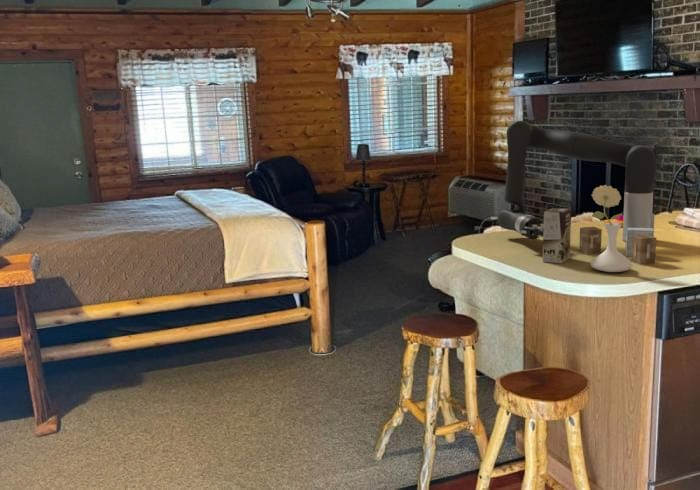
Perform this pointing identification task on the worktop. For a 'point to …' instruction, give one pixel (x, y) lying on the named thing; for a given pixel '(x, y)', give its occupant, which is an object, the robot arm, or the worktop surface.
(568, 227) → the coffee box
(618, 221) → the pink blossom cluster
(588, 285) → the worktop surface
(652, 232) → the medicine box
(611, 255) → the flower in vase
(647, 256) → the walnut block one
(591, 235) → the walnut block seven
